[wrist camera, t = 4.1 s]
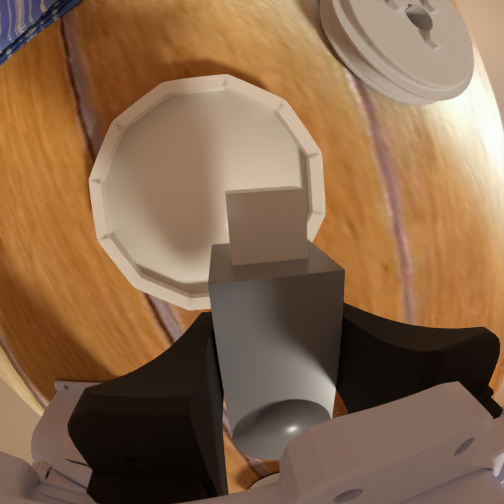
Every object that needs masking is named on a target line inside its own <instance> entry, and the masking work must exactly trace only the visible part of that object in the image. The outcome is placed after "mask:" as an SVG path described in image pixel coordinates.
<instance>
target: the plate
mask: <svg viewBox="0 0 504 504" xmlns="http://www.w3.org/2000/svg"><path fill="white" fill-rule="evenodd" d="M284 186H296V187H300V188H305V189H306V211H307V239H308V240H309V241H310V242H313V240H314V238H315V236H316V233H317V231H318V229H319V227H320V225H321V223H322V221H323V219H324V217H325V214H326V211H325V192H324V176H323V163H322V153H321V151H320V149H319V148H318V146H317V144H316V143H315V141H314V140H313V138H312V137H311V135H310V134H309V132H308V131H307V130H306V128H305V127H304V125H303V124H302V122H301V121H300V119H299V118H298V117H297V115H296V114H295V112H294V111H293V109H292V108H291V107H290V105H289V104H288V103H287V101H285V100H284V99H282V98H280V97H278V96H276V95H274V94H272V93H270V92H268V91H265V90H263V89H261V88H259V87H257V86H254V85H252V84H250V83H248V82H245V81H243V80H241V79H238V78H236V77H233V76H231V75H228V74H221V75H211V76H201V77H193V78H186V79H179V80H172V81H166V82H162V83H161V84H159V85H158V86H157V87H155V88H154V89H152V90H151V91H150V92H148V93H147V94H146V95H144V96H143V97H142V98H140V99H139V100H138V101H136V102H135V103H134V104H133V105H131V106H130V107H129V108H128V109H126V110H125V111H124V112H123V113H121V114H120V115H119V116H118V117H117V118H115V119H114V120H113V122H112V123H111V125H110V127H109V129H108V132H107V134H106V136H105V139H104V141H103V143H102V146H101V148H100V151H99V153H98V156H97V158H96V161H95V164H94V166H93V169H92V172H91V174H90V177H89V188H90V196H91V204H92V211H93V218H94V224H95V230H96V236H97V240H98V242H99V243H100V245H101V246H102V247H103V249H104V250H105V251H106V253H107V254H108V255H109V257H110V258H111V259H112V260H113V262H114V263H115V264H116V266H117V267H118V268H119V269H120V271H121V272H122V273H123V274H124V276H125V277H126V278H127V279H128V281H129V282H130V283H131V284H132V285H133V287H135V288H136V289H138V290H141V291H143V292H145V293H148V294H150V295H152V296H155V297H157V298H160V299H162V300H164V301H167V302H169V303H172V304H174V305H177V306H179V307H182V308H184V309H187V310H189V309H190V310H200V309H210V308H211V304H210V297H209V289H208V278H209V268H210V258H211V249H212V245H214V244H225V243H229V231H228V220H227V208H226V196H225V191H229V190H241V189H254V188H268V187H284Z"/></svg>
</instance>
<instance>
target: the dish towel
mask: <svg viewBox="0 0 504 504" xmlns="http://www.w3.org/2000/svg"><path fill="white" fill-rule="evenodd" d="M80 2H81V0H0V66H1V65H2V64H3V63H4V62H5V61H6V60H7V59H8V58H9V57H11V56H12V55H13V54H14V53H15V52H16V51H17V50H18V49H19V48H21V47H22V46H23V45H24V44H26V43H27V42H29V41H30V40H31V39H32V38H34V37H35V36H36V35H37V34H38V33H39V32H41V31H42V30H44V29H45V28H46V27H47V26H49V25H50V24H52V23H53V22H55V21H57V20H58V19H59V18H60V17H62V16H63V15H64V14H66V13H67V12H68V11H69V10H71V9H72V8H73V7H75V6H76V5H77V4H79V3H80Z"/></svg>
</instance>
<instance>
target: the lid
mask: <svg viewBox="0 0 504 504" xmlns="http://www.w3.org/2000/svg"><path fill="white" fill-rule="evenodd" d="M319 7H320V18H321V22H322V26H323V29H324V31H325V34H326V36H327V38H328V40H329V42H330V44H331V46H332V47H333V49H334V50H335V52H336V53H337V55H338V56H339V57H340V58H341V60H342V61H343V62H344V63H345V65H346V66H347V67H348V68H349V69H350V70H351V71H352V72H353V73H354V74H355V75H356V76H357V77H358V78H360V79H361V80H362V81H363V82H364V83H365V84H367V85H368V86H370V87H371V88H372V89H374V90H375V91H377V92H379V93H380V94H382V95H384V96H386V97H388V98H390V99H392V100H395V101H398V102H401V103H404V104H410V105H426V104H431V103H434V102H436V101H442V100H448V99H452V98H455V97H456V96H458V95H460V94H461V93H462V92H463V91H465V89H466V88H467V86H468V85H469V83H470V81H471V78H472V74H473V68H474V58H473V48H472V42H471V39H470V35H469V32H468V30H467V27H466V25H465V23H464V21H463V19H462V17H461V15H460V14H459V12H458V10H457V9H456V7H455V6H454V5H453V3H452V2H451V1H450V0H320V6H319Z"/></svg>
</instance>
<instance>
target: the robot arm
mask: <svg viewBox="0 0 504 504" xmlns="http://www.w3.org/2000/svg"><path fill="white" fill-rule="evenodd" d="M499 354H500V342H499V338H498V337H497V336H496V335H495V334H494V333H492V332H491V331H490V330H488V329H487V328H485V327H474V328H460V329H448V328H430V327H422V326H415V325H409V324H405V323H400V322H396V321H392V320H389V319H385V318H382V317H379V316H376V315H374V314H371V313H368V312H366V311H363V310H361V309H358V308H356V307H353V306H351V305H349V304H346V303H344V302H343V318H342V332H341V344H340V355H339V365H338V374H337V383H336V389H337V391H338V393H339V395H340V396H341V398H342V400H343V402H344V404H345V406H346V408H347V411H348V413H349V414H347V415H343V416H339V417H335V418H333V419H330V420H328V421H325V422H323V423H320V424H317V425H315V426H312V427H310V428H308V429H307V430H306V431H305V432H303V433H302V434H301V435H299V436H298V437H297V438H295V439H294V440H293V441H291V442H290V443H289V444H288V445H287V446H286V448H285V450H284V453H283V455H282V457H281V459H280V461H279V470H280V476H279V480H278V482H275V483H271V484H268V485H264V486H261V487H257V488H254V489H250V490H246V491H242V492H238V493H233V494H228V485H227V476H226V466H225V455H224V442H223V429H222V417H223V399H224V389H223V383H222V377H221V371H220V365H219V359H218V352H217V346H216V339H215V333H214V326H213V319H212V312H202V313H201V314H200V315H199V316H198V317H197V318H196V320H195V321H194V322H193V323H192V325H191V326H190V327H189V328H188V329H187V331H186V332H185V333H184V334H183V335H182V336H181V337H180V338H179V339H178V340H177V341H176V342H175V343H174V344H173V345H172V346H171V347H170V348H168V349H167V350H166V351H165V352H163V353H162V354H161V355H159V356H158V357H157V358H155V359H154V360H152V361H150V362H149V363H147V364H145V365H144V366H142V367H140V368H138V369H137V370H135V371H133V372H130V373H128V374H126V375H124V376H121V377H119V378H116V379H114V380H111V381H108V382H105V383H92V382H72V381H55V382H54V387H55V389H56V391H57V392H56V394H55V395H54V397H53V398H52V400H51V402H50V403H49V405H48V407H47V409H46V410H45V412H44V414H43V415H42V417H41V419H40V421H39V422H38V424H37V426H36V428H35V430H34V432H33V435H32V441H31V453H32V458H33V461H34V462H33V464H32V466H31V465H30V464H29V463H27V462H26V461H24V460H22V459H20V458H18V457H15V456H12V455H9V454H6V453H4V452H1V451H0V504H504V407H501V406H499V405H498V404H497V403H496V402H495V401H494V400H493V399H492V398H491V396H492V395H493V393H494V392H493V389H492V388H490V387H489V386H488V384H489V382H490V379H491V377H492V374H493V372H494V369H495V367H496V364H497V361H498V358H499ZM67 386H68V387H67Z"/></svg>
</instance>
